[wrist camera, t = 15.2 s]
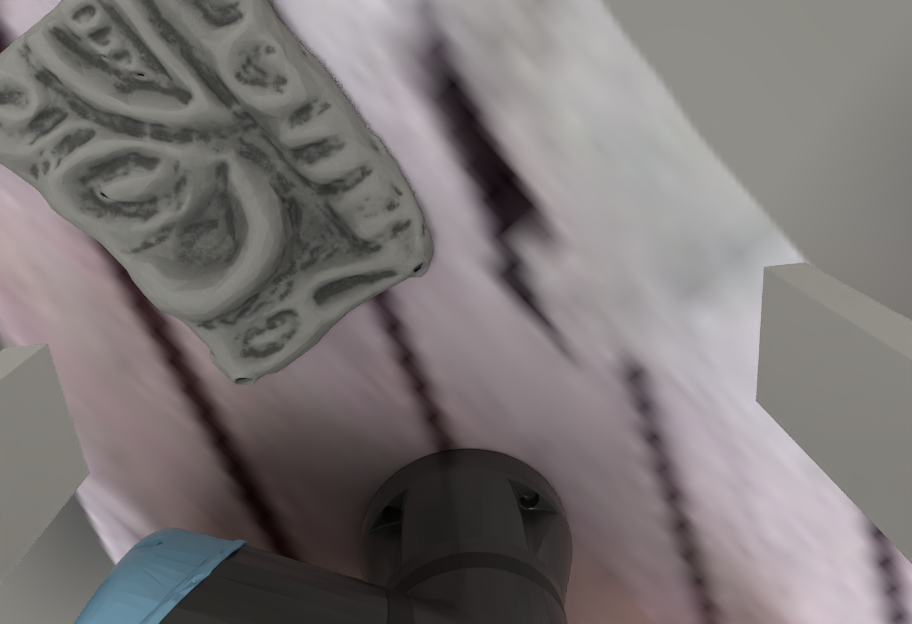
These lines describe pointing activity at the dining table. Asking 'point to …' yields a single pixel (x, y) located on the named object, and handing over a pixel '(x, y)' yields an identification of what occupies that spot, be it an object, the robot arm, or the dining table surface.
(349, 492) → the dining table surface
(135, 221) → the wall plaque
